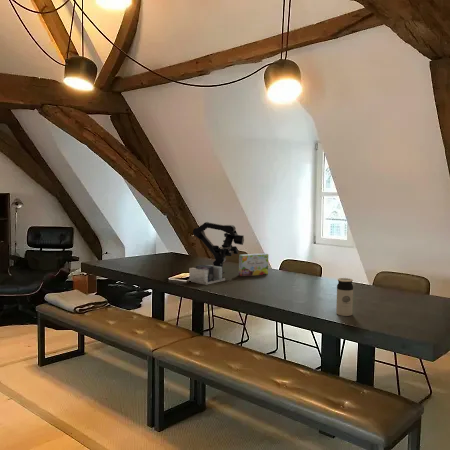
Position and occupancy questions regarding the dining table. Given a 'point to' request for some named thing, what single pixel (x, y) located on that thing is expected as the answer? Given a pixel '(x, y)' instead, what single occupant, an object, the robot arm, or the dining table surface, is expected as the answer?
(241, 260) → the snack box
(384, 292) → the dining table surface
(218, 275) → the free jaw
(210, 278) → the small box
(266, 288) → the dining table surface
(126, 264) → the dining table surface
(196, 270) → the vise
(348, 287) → the travel mug
